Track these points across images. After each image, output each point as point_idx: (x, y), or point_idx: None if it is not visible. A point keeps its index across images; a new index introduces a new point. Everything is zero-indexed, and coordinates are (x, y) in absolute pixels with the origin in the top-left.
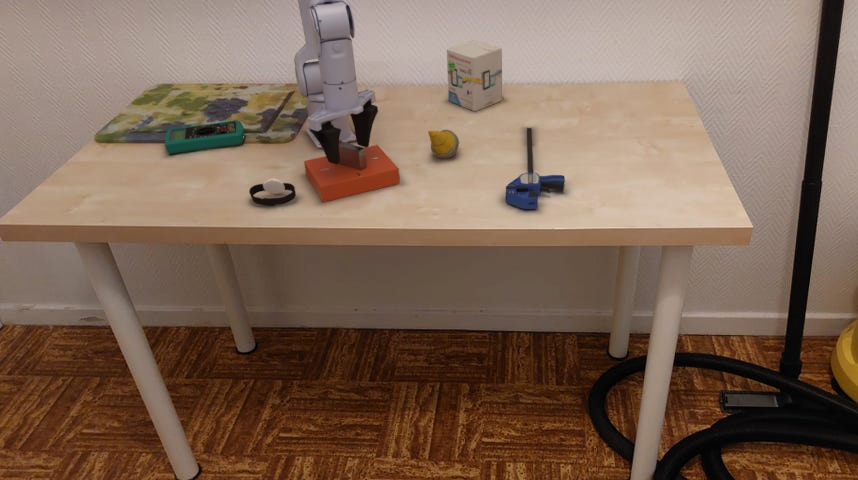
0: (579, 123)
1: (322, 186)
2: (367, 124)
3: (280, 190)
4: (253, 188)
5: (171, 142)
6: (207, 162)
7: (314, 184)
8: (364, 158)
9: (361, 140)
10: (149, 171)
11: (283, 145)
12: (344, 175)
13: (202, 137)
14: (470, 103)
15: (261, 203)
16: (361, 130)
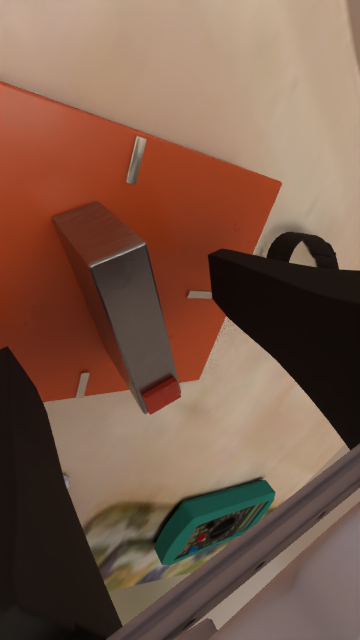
0: None
1: (277, 181)
2: (18, 463)
3: None
4: None
5: (271, 496)
6: (249, 451)
7: None
8: (81, 232)
9: (30, 391)
10: (301, 440)
11: (124, 496)
12: (179, 207)
13: (240, 509)
14: None
15: (321, 261)
16: (37, 443)
